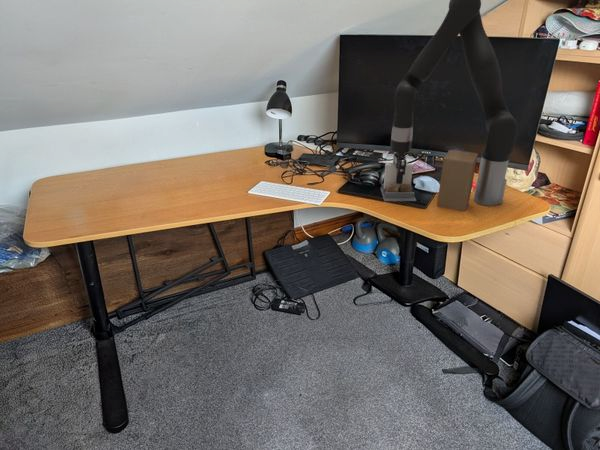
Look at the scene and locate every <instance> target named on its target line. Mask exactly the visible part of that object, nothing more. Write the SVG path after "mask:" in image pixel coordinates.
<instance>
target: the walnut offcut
mask: <svg viewBox="0 0 600 450" xmlns="http://www.w3.org/2000/svg"><path fill="white" fill-rule="evenodd" d="M411 188H412V189H413V186H412V184H411V185H400V191H399V192H411Z"/></svg>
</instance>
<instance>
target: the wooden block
mask: <svg viewBox="0 0 600 450" xmlns="http://www.w3.org/2000/svg"><path fill="white" fill-rule="evenodd" d="M442 161H443V162H442V166H441V167H442V169H441V175H440V181H439V188H438V197H437V203H436V206H437V207H440V208H445V209H451V210H455V211H460V212H466V211H467V209H468V207H469V204H470V201H471V200H470V198H471V194H472V189H473V183H474V177H475V171H476V166H477V161H478V153H477V152H471V151H464V150H456V149H449V150H448V151H447V153H446V154H445V156H444V158H443V160H442Z"/></svg>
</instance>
